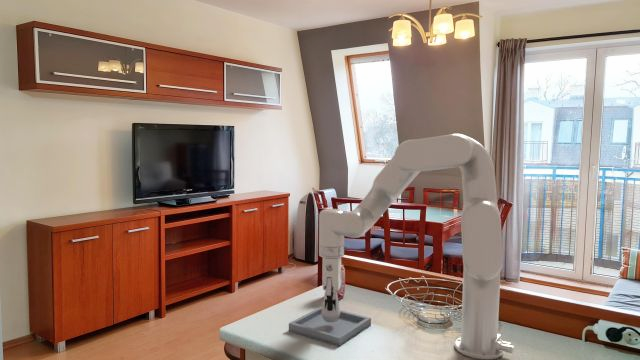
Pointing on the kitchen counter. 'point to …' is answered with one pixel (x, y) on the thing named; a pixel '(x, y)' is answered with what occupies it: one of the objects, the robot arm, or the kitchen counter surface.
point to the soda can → (342, 284)
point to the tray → (330, 327)
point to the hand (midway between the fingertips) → (330, 309)
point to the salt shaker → (331, 315)
